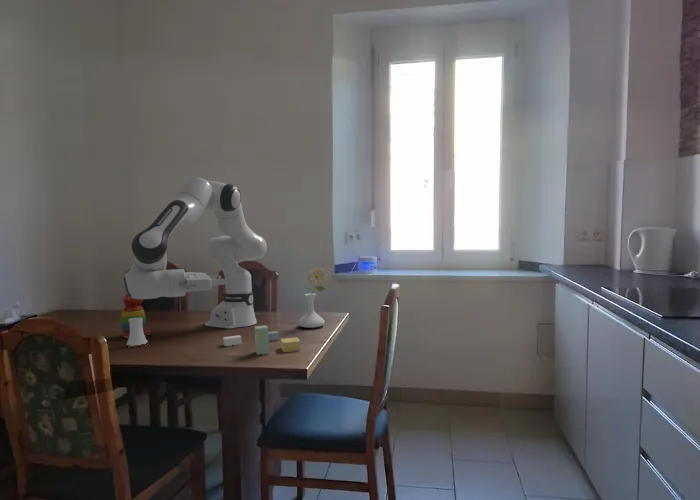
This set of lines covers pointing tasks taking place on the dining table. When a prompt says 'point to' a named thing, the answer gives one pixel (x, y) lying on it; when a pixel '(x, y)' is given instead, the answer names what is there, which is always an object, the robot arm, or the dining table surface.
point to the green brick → (261, 340)
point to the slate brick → (273, 336)
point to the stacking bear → (132, 314)
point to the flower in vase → (311, 317)
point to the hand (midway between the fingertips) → (223, 279)
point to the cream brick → (232, 340)
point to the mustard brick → (290, 344)
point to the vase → (136, 332)
